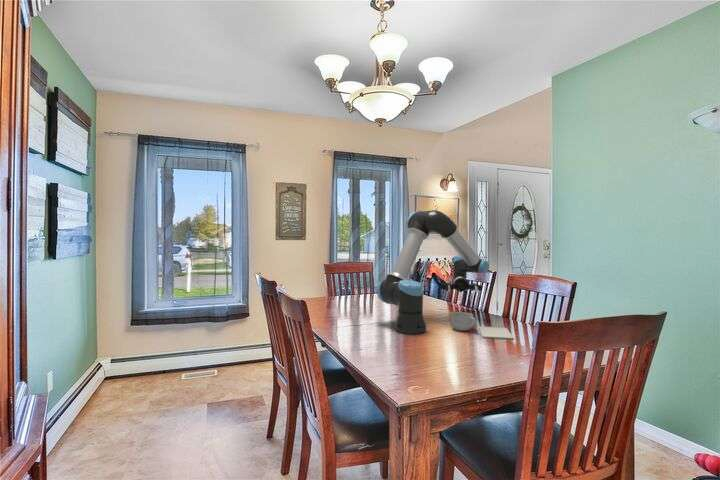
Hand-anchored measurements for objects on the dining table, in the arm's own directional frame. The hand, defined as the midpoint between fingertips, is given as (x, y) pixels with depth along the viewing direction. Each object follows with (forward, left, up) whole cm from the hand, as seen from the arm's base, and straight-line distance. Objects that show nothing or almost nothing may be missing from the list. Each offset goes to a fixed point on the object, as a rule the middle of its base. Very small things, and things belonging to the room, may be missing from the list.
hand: (462, 289), depth 191 cm
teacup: (0, -12, -18) cm, 21 cm away
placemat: (+14, -14, -18) cm, 27 cm away
